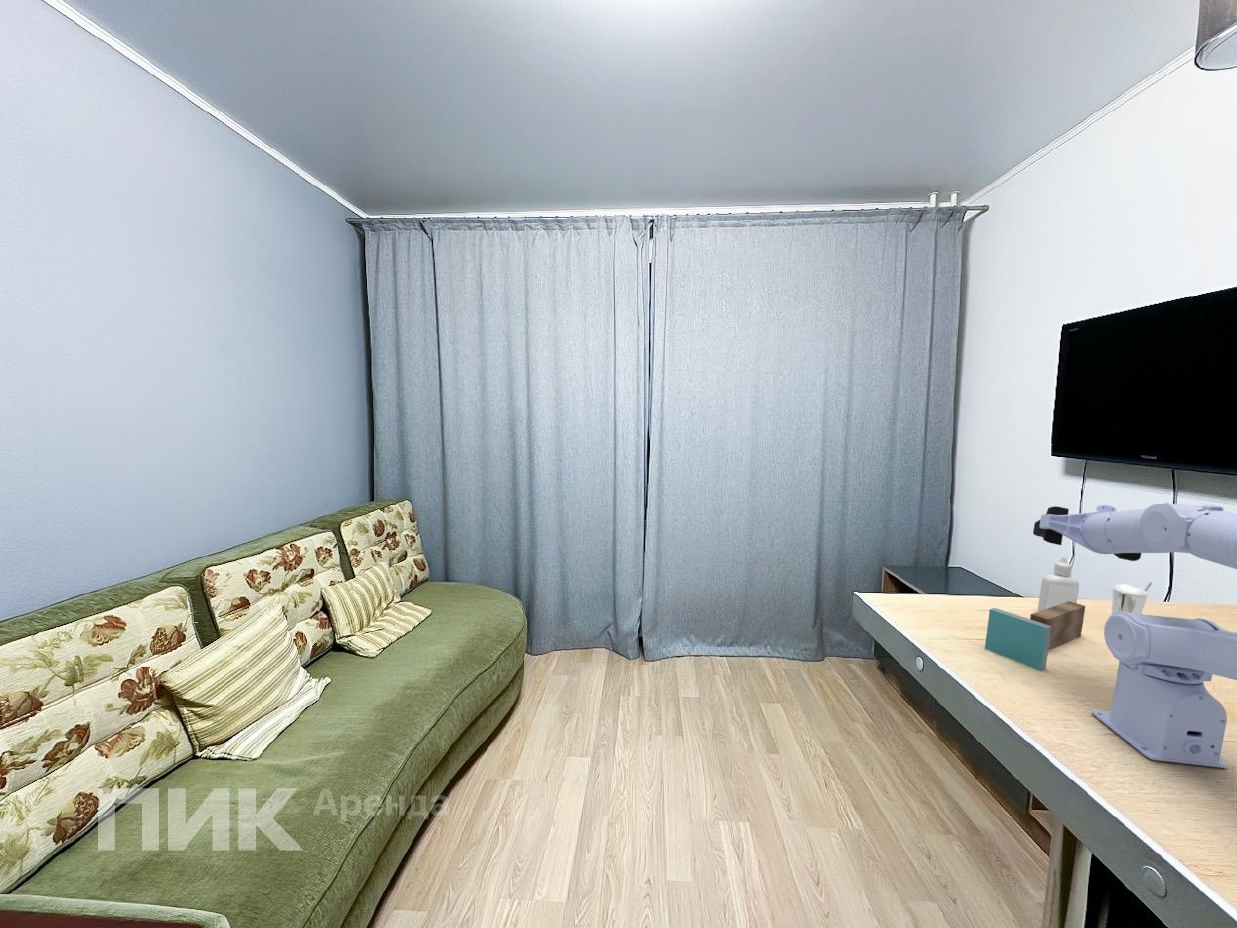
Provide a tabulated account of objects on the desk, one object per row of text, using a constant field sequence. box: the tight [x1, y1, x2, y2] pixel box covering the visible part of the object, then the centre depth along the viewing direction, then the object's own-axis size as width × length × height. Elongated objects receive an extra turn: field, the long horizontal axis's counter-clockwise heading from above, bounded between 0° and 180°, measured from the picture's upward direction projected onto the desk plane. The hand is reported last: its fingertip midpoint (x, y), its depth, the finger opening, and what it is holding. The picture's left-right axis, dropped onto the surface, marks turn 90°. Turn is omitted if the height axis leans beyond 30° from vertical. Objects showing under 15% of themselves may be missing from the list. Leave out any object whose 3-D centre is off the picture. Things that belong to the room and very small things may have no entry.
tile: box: [984, 607, 1052, 672], centre depth 85 cm, size 8×2×7 cm, turn 29°
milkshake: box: [1111, 581, 1153, 615], centre depth 95 cm, size 4×5×10 cm
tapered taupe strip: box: [1029, 601, 1086, 652], centre depth 91 cm, size 14×2×6 cm, turn 119°
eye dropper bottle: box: [1037, 556, 1080, 612], centre depth 102 cm, size 4×6×12 cm
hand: (1062, 534), depth 84 cm, fingers open, 7 cm apart
